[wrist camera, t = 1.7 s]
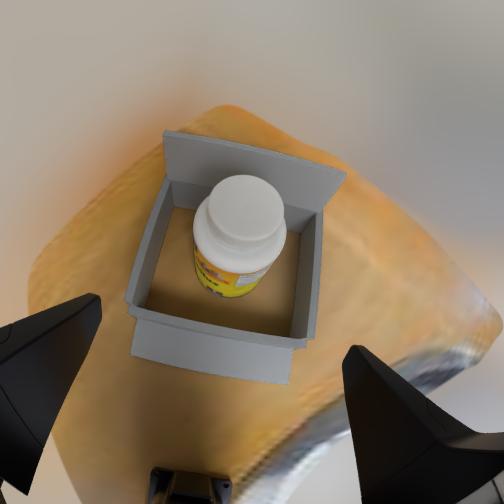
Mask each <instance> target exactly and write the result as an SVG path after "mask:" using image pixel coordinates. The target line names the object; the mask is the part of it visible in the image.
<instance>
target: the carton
mask: <svg viewBox="0 0 504 504" xmlns="http://www.w3.org/2000/svg"><path fill="white" fill-rule="evenodd" d="M163 144H164V153H165V162H166V170H167V173H166V176H165V178H164V181H163V183H162V186H161V188H160V191H159V193H158V196H157V198H156V201H155V204H154V206H153V209H152V212H151V214H150V217H149V220H148V223H147V226H146V229H145V232H144V234H143V237H142V240H141V244H140V247H139V250H138V253H137V256H136V259H135V263H134V266H133V269H132V273H131V276H130V280H129V283H128V287H127V290H126V294H125V298H124V301H125V302H126V303H127V304H129V308H128V312H127V313H128V314H130V315H131V316H133V317H134V318H137V323H136V327H135V332H134V336H133V341H132V346H131V351H130V355H133V356H137V357H140V358H144V359H147V360H151V361H155V362H159V363H163V364H167V365H171V366H175V367H179V368H184V369H188V370H193V371H198V372H203V373H208V374H213V375H219V376H225V377H231V378H237V379H244V380H251V381H258V382H266V383H275V384H285V385H288V382H289V376H290V369H291V362H292V355H293V349H294V350H296V349H303V348H306V344H307V340H310V339H315V330H316V321H317V310H318V299H319V286H320V272H321V256H322V235H323V208H324V207H325V206H326V204H327V203H328V202H329V200H330V199H331V198H332V196H333V195H334V194H335V192H336V191H337V190H338V188H339V187H340V186H341V184H342V183H343V182H344V180H345V179H346V172H345V171H342V170H339V169H335V168H332V167H329V166H326V165H323V164H319V163H316V162H312V161H309V160H306V159H302V158H298V157H295V156H291V155H287V154H283V153H280V152H276V151H272V150H268V149H263V148H259V147H255V146H250V145H246V144H241V143H237V142H232V141H227V140H222V139H217V138H211V137H206V136H200V135H194V134H188V133H181V132H175V131H167V130H165V131H164V134H163ZM235 175H251V176H255V177H258V178H260V179H263V180H265V181H266V182H268V183H269V184H270V185H272V186H273V187H274V188H275V189H276V190H277V192H278V193H279V195H280V197H281V199H282V201H283V205H284V219H285V223H286V230H288V231H292V232H296V233H300V234H301V237H300V249H299V260H298V270H297V280H296V290H295V299H294V307H293V316H292V324H291V332H290V338H287V337H280V336H273V335H267V334H261V333H255V332H249V331H243V330H238V329H232V328H227V327H222V326H217V325H212V324H207V323H202V322H197V321H193V320H188V319H184V318H179V317H175V316H171V315H167V314H162V313H158V312H154V311H150V310H147V309H145V305H146V301H147V297H148V293H149V289H150V286H151V282H152V278H153V274H154V271H155V267H156V264H157V260H158V257H159V253H160V250H161V246H162V243H163V240H164V237H165V233H166V230H167V227H168V224H169V221H170V218H171V215H172V212H173V209H174V206H176V207H181V208H186V209H191V210H196V211H197V210H198V208H199V206H200V205H201V203H202V202H203V201H204V200H205V199H206V198H207V197H208V196H209V195H210V194H211V192H212V190H213V189H214V187H215V186H216V185H217V184H218V183H219V182H221V181H222V180H224V179H226V178H228V177H231V176H235Z"/></svg>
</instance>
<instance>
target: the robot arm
mask: <svg viewBox="0 0 504 504" xmlns="http://www.w3.org/2000/svg"><path fill="white" fill-rule="evenodd" d="M101 319H102V308H101V298H100V296H99V295H96V294H93V293H87V294H85V295H82V296H80V297H77V298H74V299H72V300H69V301H67V302H64V303H62V304H59V305H56V306H54V307H51V308H49V309H46V310H44V311H41V312H39V313H36V314H33V315H31V316H28V317H26V318H23V319H21V320H19V321H16V322H14V323H13V324H12V323H11V324H8V325H6V326H4V327H1V328H0V488H1V486H2V483H3V481H6V482H7V483H9V484H10V485H11V486H13V487H14V488H16V489H17V490H19V491H20V492H22V493H23V494H25V495H28V493H29V490H30V487H31V484H32V481H33V477H34V474H35V472H36V469H37V466H38V463H39V460H40V457H41V455H42V452H43V448H44V446H45V444H46V441H47V438H48V436H49V434H50V432H51V429H52V427H53V424H54V422H55V420H56V418H57V415H58V413H59V411H60V409H61V406H62V404H63V402H64V400H65V398H66V396H67V394H68V391H69V389H70V387H71V385H72V383H73V381H74V379H75V377H76V375H77V373H78V371H79V369H80V368H81V366H82V364H83V362H84V360H85V358H86V356H87V354H88V351H89V349H90V346H91V344H92V341H93V339H94V337H95V334H96V332H97V329H98V327H99V325H100V322H101ZM342 372H343V382H344V393H345V402H346V407H347V412H348V418H349V423H350V428H351V434H352V439H353V445H354V451H355V457H356V463H357V469H358V477H359V484H360V491H361V496H362V497H361V500H362V504H504V432H499V433H479V432H476V431H473V430H472V429H470V428H469V427H467V426H466V425H464V424H463V423H461V422H460V421H458V420H456V419H455V418H454V417H452V416H451V415H449V414H448V413H447V412H445V411H444V410H442V409H441V408H440V407H439V406H437V405H436V404H435V403H433V402H432V401H431V400H430V399H428V398H427V397H426V396H425V395H423V394H422V393H421V392H420V391H418V390H417V389H416V388H415V387H413V386H412V385H411V384H410V383H408V382H407V381H406V380H405V379H404V378H402V377H401V376H400V375H399V374H397V373H396V372H395V371H394V370H392V369H391V368H390V367H389V366H387V365H386V364H385V363H384V362H383V361H381V360H380V359H379V358H378V357H376V356H375V355H374V354H373V353H371V352H370V351H369V350H368V349H366V348H365V347H364V346H362V345H352V346H351V347H350V349H349V351H348V353H347V354H346V356H345V358H344V360H343V362H342ZM155 471H158V472H159V473H160V474H159V475H158V474H156V473H155ZM225 483H227V484H229V485H228V486H224V485H223V484H225ZM231 491H232V482H231V481H230V480H228V479H220V478H212V477H209V476H208V475H204V474H198V473H192V472H186V471H181V470H177V471H172V470H167V469H163V468H159V467H155V468H153V469H152V471H151V478H150V489H149V502H148V504H229V502H230V497H231ZM0 504H6V501H5V499H4V497H3V494H2V492H1V489H0Z"/></svg>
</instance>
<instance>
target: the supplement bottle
mask: <svg viewBox="0 0 504 504" xmlns="http://www.w3.org/2000/svg"><path fill="white" fill-rule="evenodd" d="M193 238H194V257H195V269H196V274H197V277H198V279H199V281H200V283H201V284H202V285H203V286H204V288H205V289H206V290H208V291H209V292H210V293H212V294H214V295H216V296H218V297H222V298H238V297H241V296H243V295H246V294H247V293H249V292H250V291H251V290H253V289H254V288H255V287H256V285H257V284H258V283H259V281H260V280H261V279H262V277H263V276H264V275H265V273H266V272H267V271H268V269H269V268H270V267H271V265H272V264H273V263H274V261H275V260H276V258H277V257H278V256H279V254H280V252H281V251H282V249H283V246H284V244H285V240H286V223H285V219H284V205H283V201H282V199H281V197H280V195H279V193H278V192H277V190H276V189H275V188H274V187H273V186H272V185H270V184H269V183H268V182H266V181H265V180H263V179H260V178H258V177H255V176H251V175H235V176H231V177H228V178H226V179H224V180H222V181H221V182H219V183H218V184H217V185H216V186H215V187H214V189H213V190H212V192H211V194H210V195H209V196H208V197H207V198H206V199H205V200H204V201H203V202H202V203H201V205H200V206H199V208H198V210H197V212H196V214H195V217H194V222H193Z"/></svg>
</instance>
